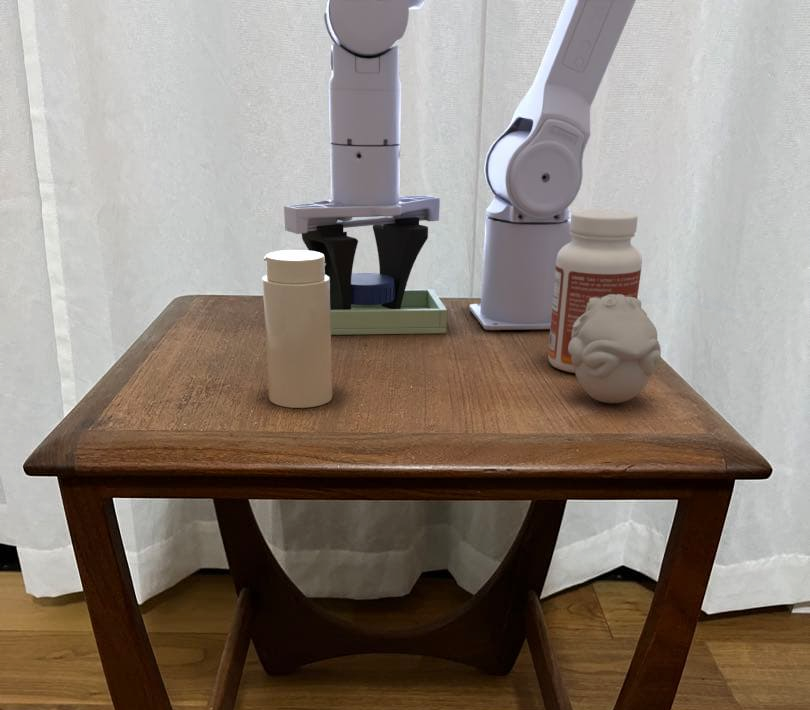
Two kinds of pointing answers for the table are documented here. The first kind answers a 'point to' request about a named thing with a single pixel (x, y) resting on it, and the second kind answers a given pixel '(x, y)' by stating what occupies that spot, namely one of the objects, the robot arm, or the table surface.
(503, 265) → the robot arm
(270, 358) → the jar
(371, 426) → the table surface
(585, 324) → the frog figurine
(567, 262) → the pill bottle
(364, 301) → the lid
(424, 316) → the tray
